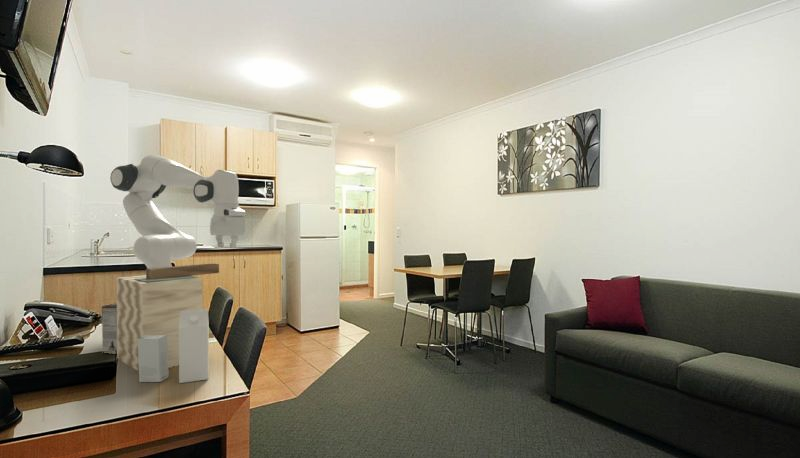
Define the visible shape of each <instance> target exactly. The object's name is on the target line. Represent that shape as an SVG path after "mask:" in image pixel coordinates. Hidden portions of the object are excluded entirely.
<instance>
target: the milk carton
mask: <svg viewBox="0 0 800 458" xmlns="http://www.w3.org/2000/svg"><path fill="white" fill-rule="evenodd" d="M209 320H210V319H209V309H208V308H204V309H200V310H186V311H180V319H179V365H178V383H179V384H185V383H190V382H199V381H206V380H209V375H210V373H209V372H210V346H209V345H210V343H209V342H210V341H209V339H210V337H209V332H210V331H209V330H210V329H209V328H210V327H209V324H210V323H209Z"/></svg>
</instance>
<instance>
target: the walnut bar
mask: <svg viewBox="0 0 800 458" xmlns="http://www.w3.org/2000/svg"><path fill="white" fill-rule="evenodd" d="M219 273H220V264H219V263H202V264H191V265H178V266H177V265H176V266H175V265H174V266H172V267H161V268H146V269H145V275H146V278H147V279H162V278H172V277H182V276H202V275H203V276H204V275H211V274H219Z"/></svg>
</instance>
